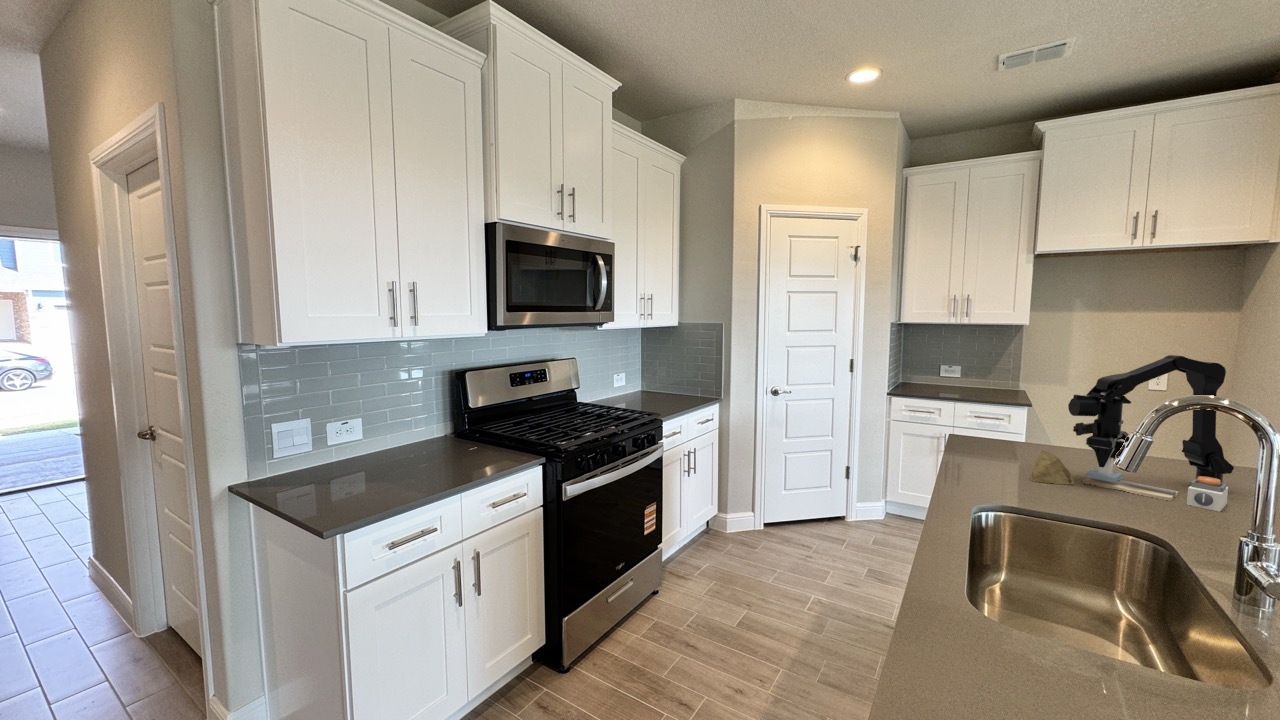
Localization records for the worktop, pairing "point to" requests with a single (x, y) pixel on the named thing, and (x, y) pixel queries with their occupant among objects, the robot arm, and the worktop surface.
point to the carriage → (1105, 472)
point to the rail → (1135, 488)
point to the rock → (1051, 470)
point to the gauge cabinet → (1207, 496)
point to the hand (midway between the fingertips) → (1106, 464)
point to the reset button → (1208, 481)
